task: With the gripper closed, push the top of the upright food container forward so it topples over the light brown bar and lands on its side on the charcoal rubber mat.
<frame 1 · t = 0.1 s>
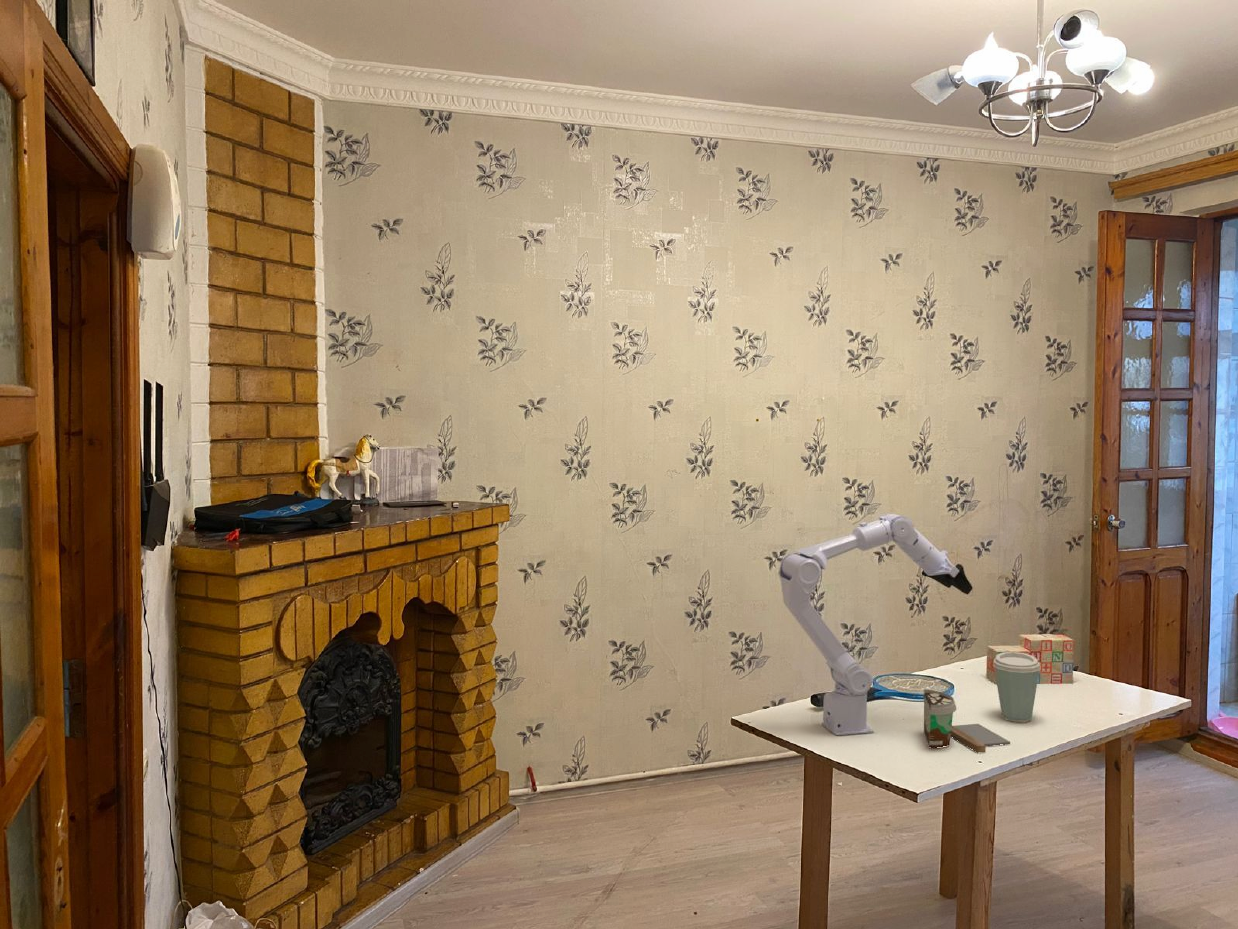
hand: (960, 587, 217), 32 cm above the table, tool tilted 50°, fingers open, 7 cm apart
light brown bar: (960, 739, 206), on the table
disposable coffee cup: (1015, 719, 220), on the table
stack of blocks: (1029, 682, 250), on the table
food container: (940, 742, 205), on the table
rubber mat: (978, 736, 208), on the table
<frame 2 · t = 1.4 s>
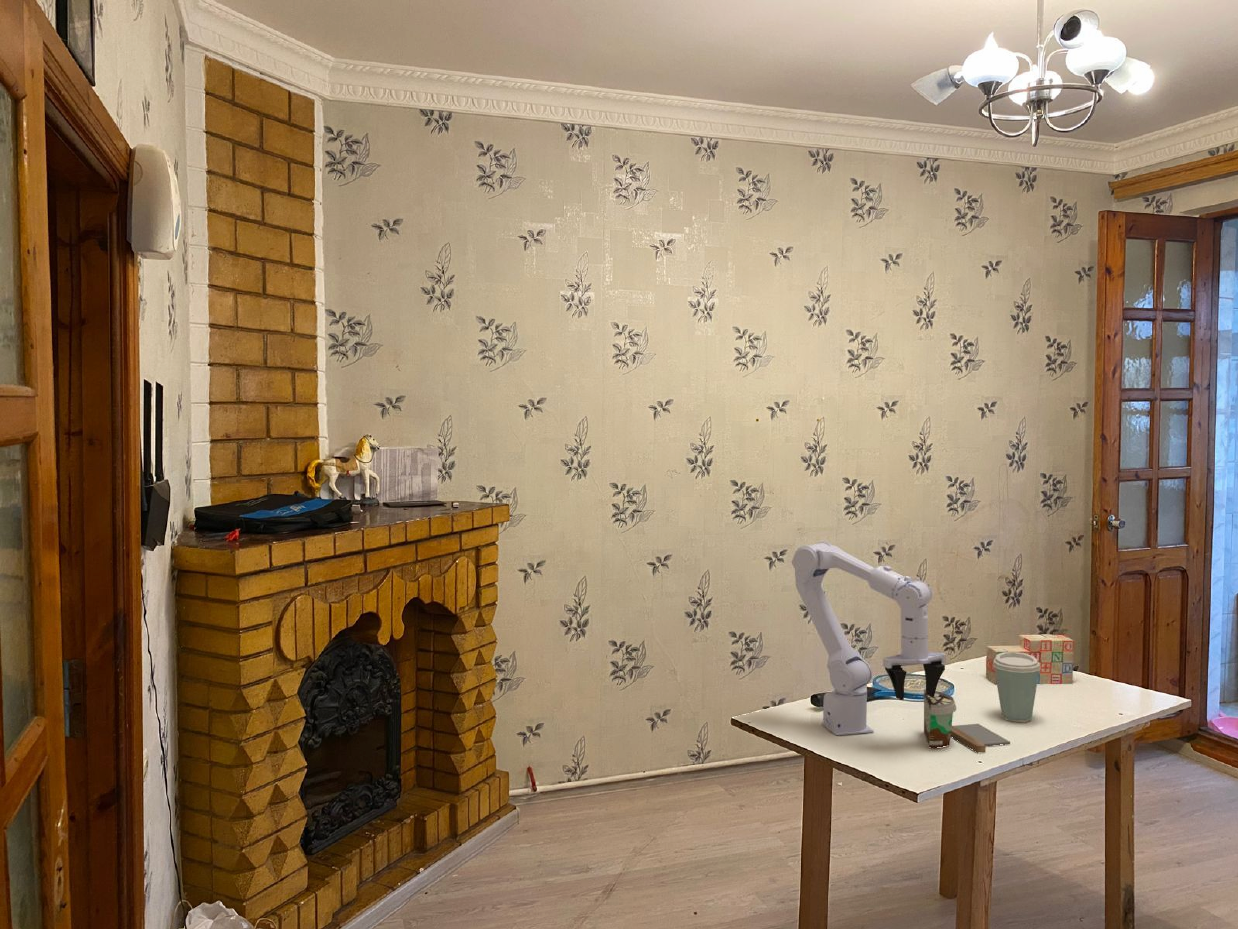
hand: (915, 697, 202), 11 cm above the table, tool pointing down, fingers open, 7 cm apart
nothing on the table moved.
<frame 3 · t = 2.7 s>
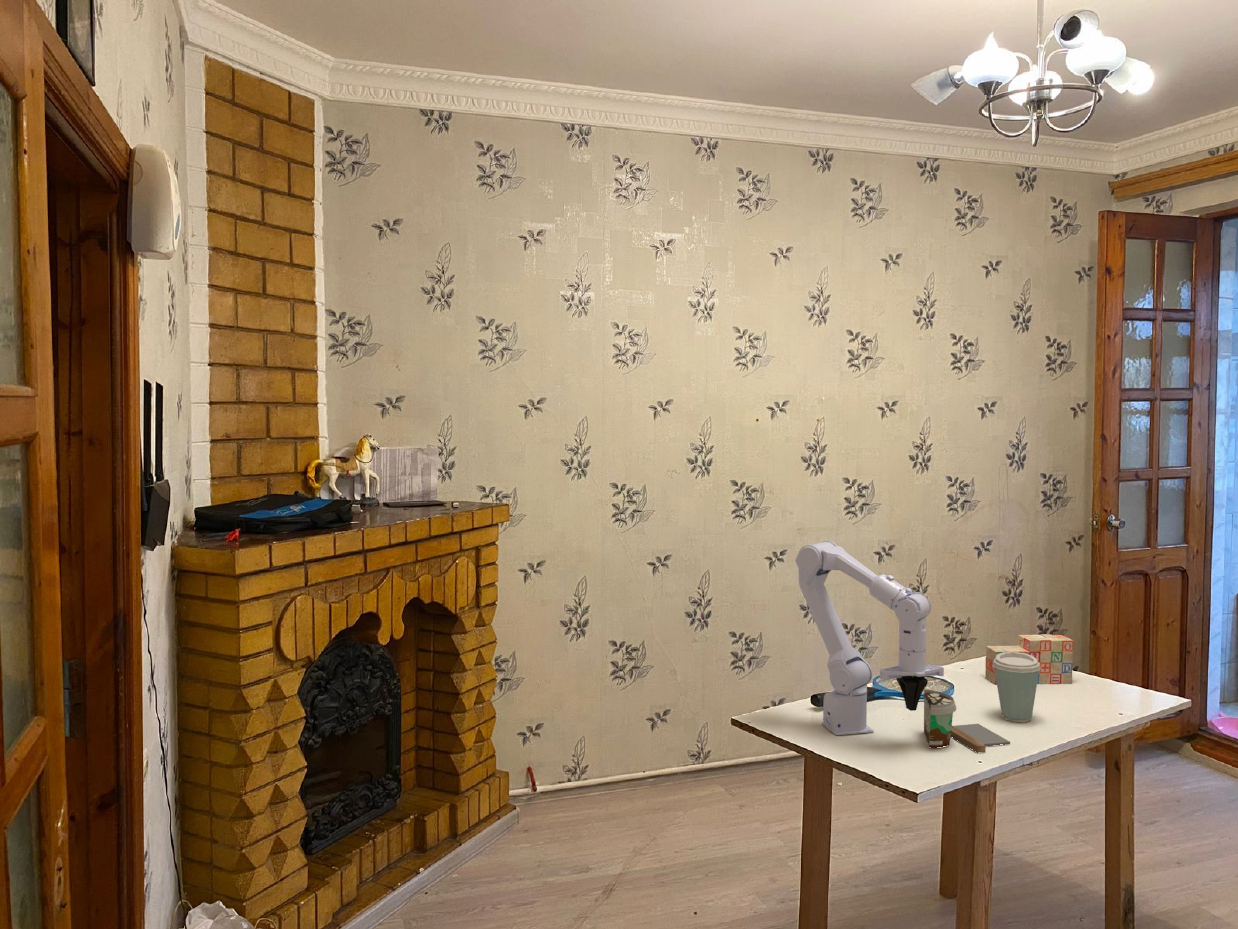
hand: (911, 709, 203), 8 cm above the table, tool pointing down, fingers closed
nothing on the table moved.
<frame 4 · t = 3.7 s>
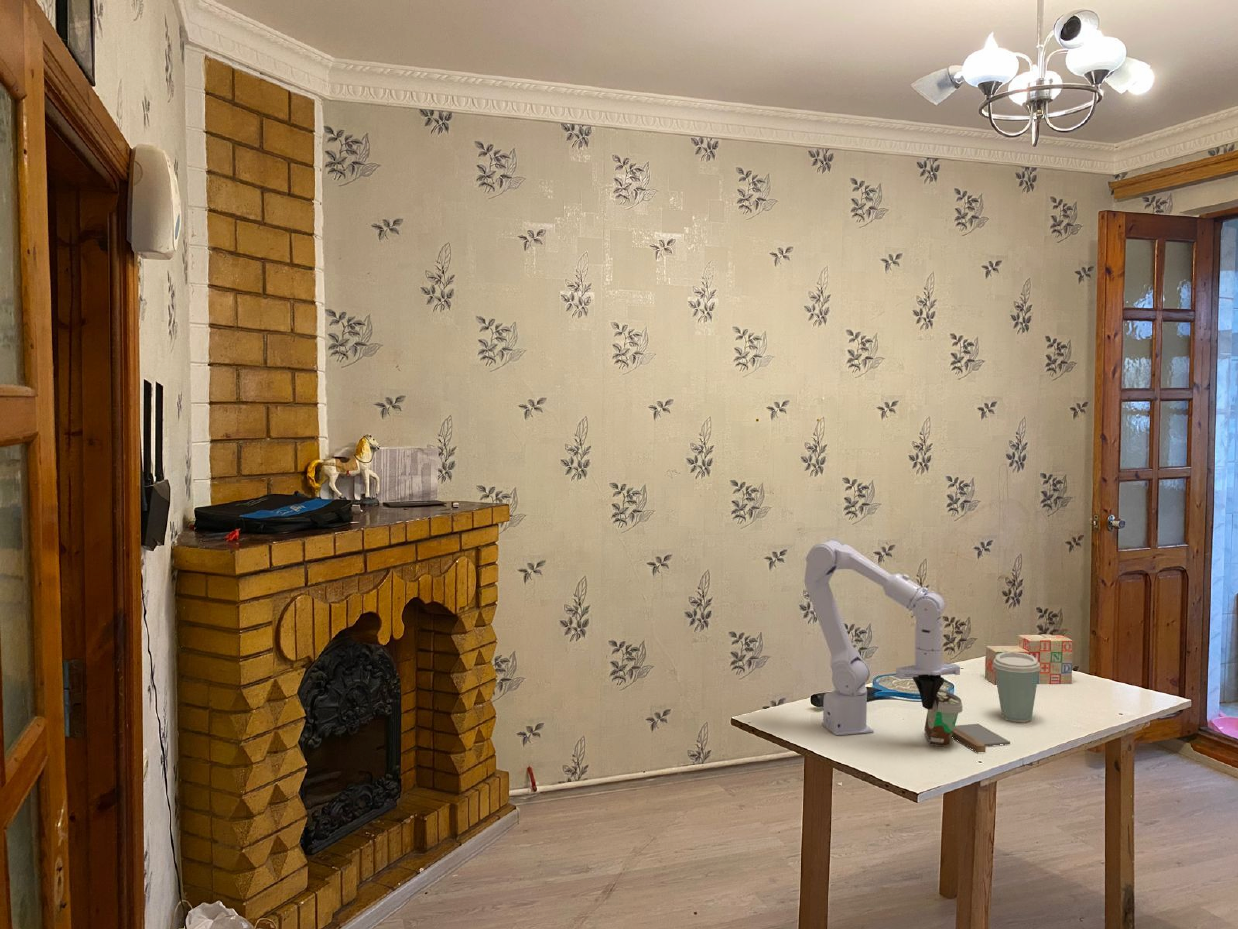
hand: (927, 707, 203), 8 cm above the table, tool pointing down, fingers closed
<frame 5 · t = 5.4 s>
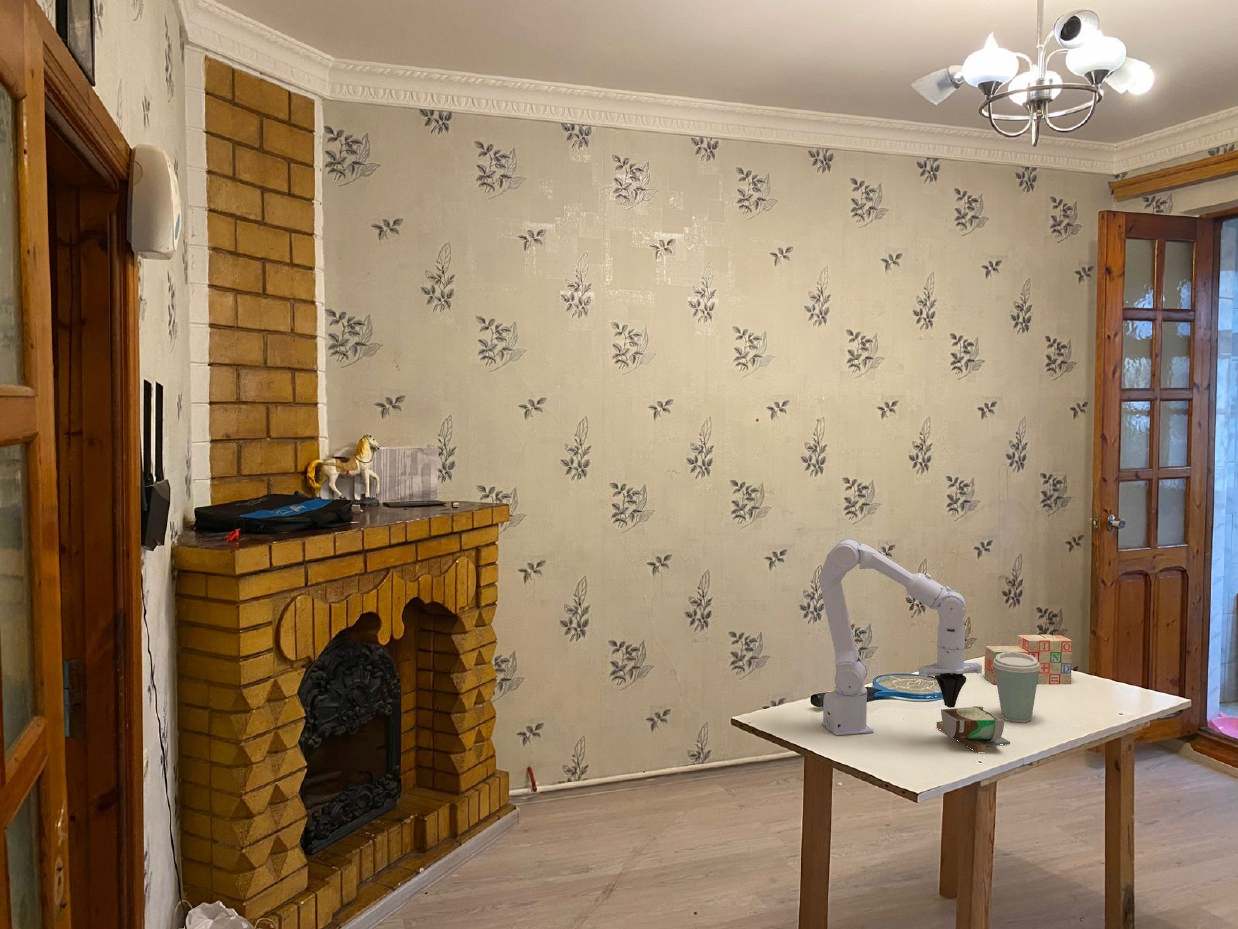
hand: (949, 706, 205), 8 cm above the table, tool pointing down, fingers closed
food container: (948, 728, 203), point 3 cm above the table, touching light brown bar
everything else where it was.
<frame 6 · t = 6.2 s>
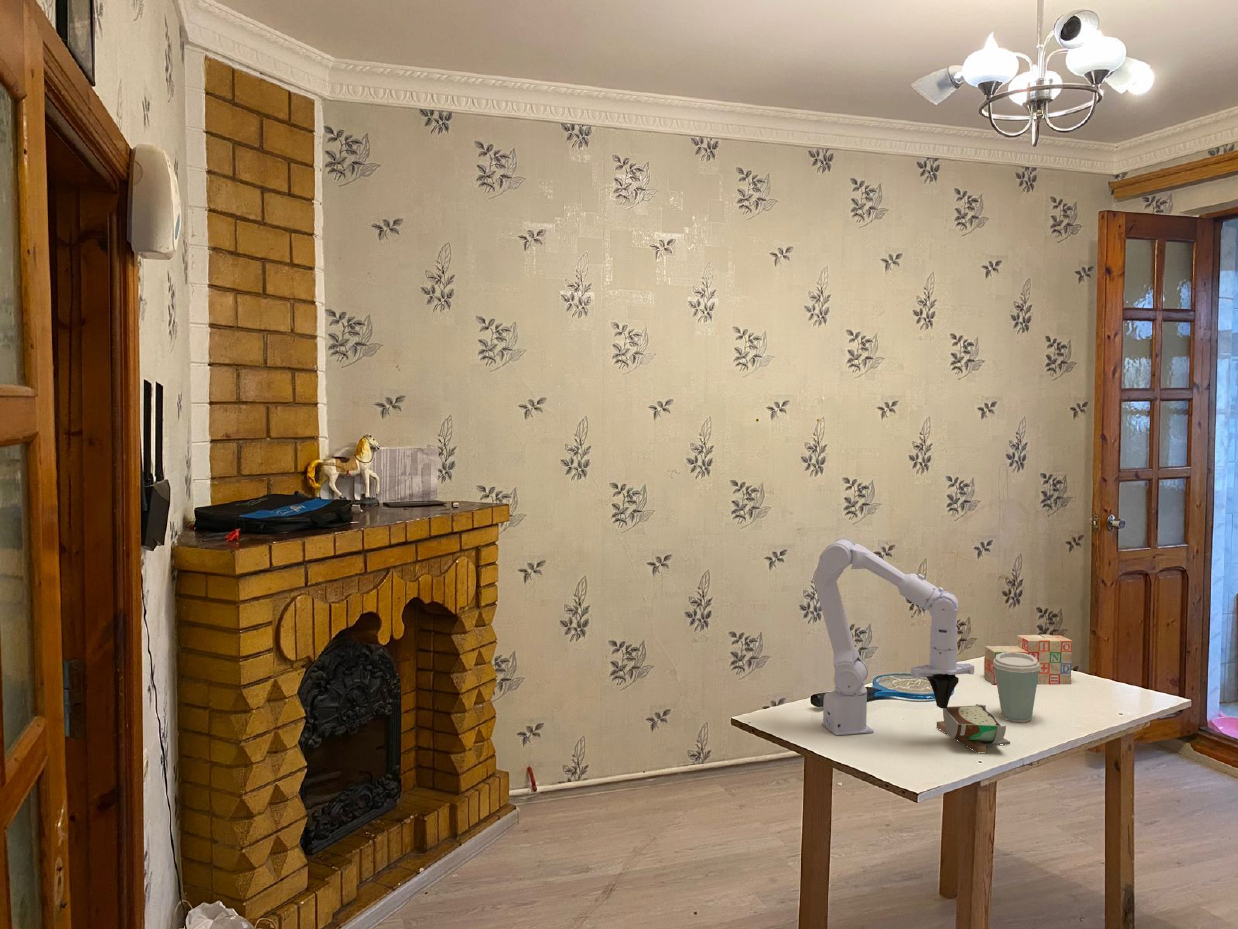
hand: (941, 707, 204), 8 cm above the table, tool pointing down, fingers closed
food container: (948, 728, 203), point 4 cm above the table, touching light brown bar, rubber mat
everything else where it was.
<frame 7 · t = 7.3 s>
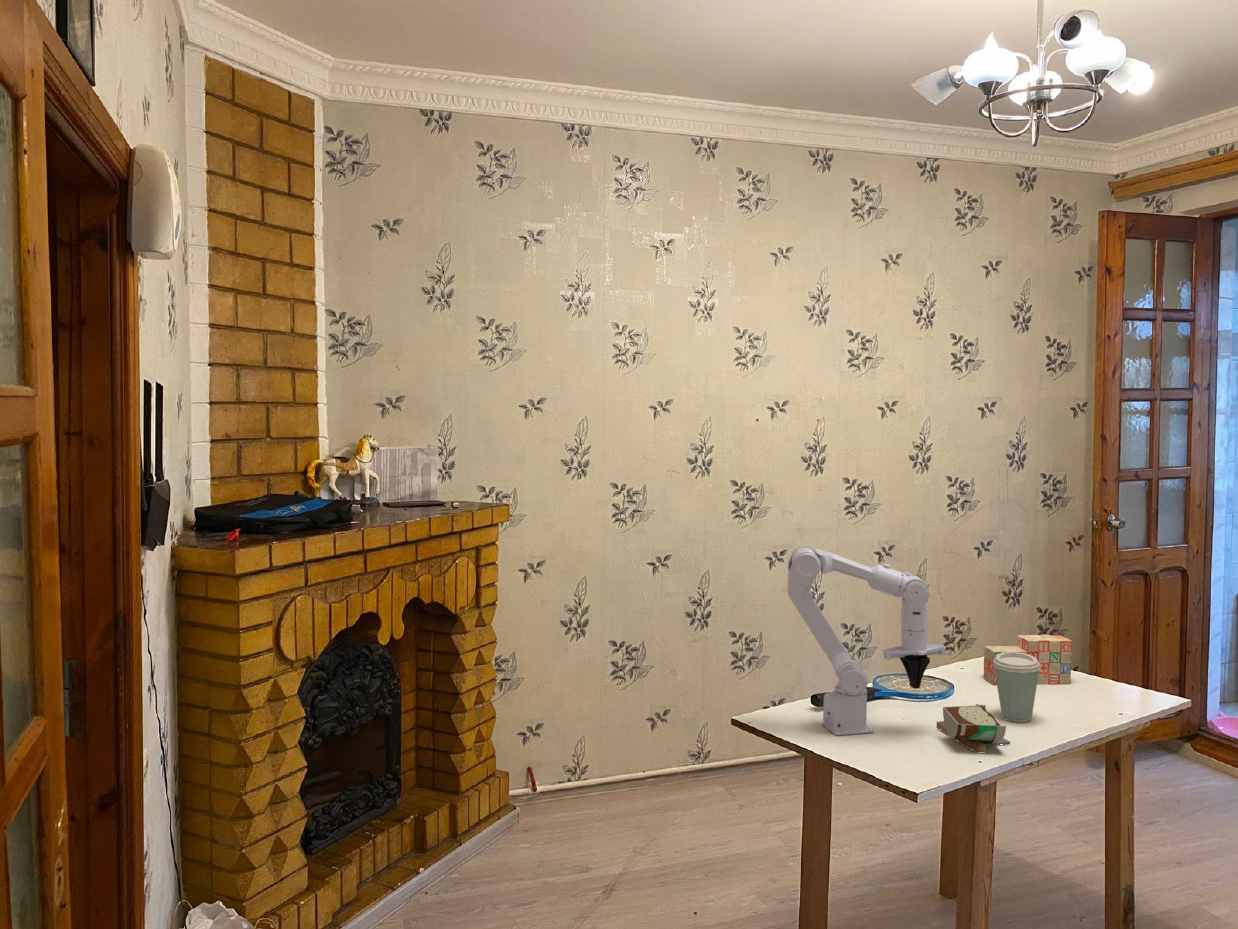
hand: (914, 687, 210), 10 cm above the table, tool pointing down, fingers closed
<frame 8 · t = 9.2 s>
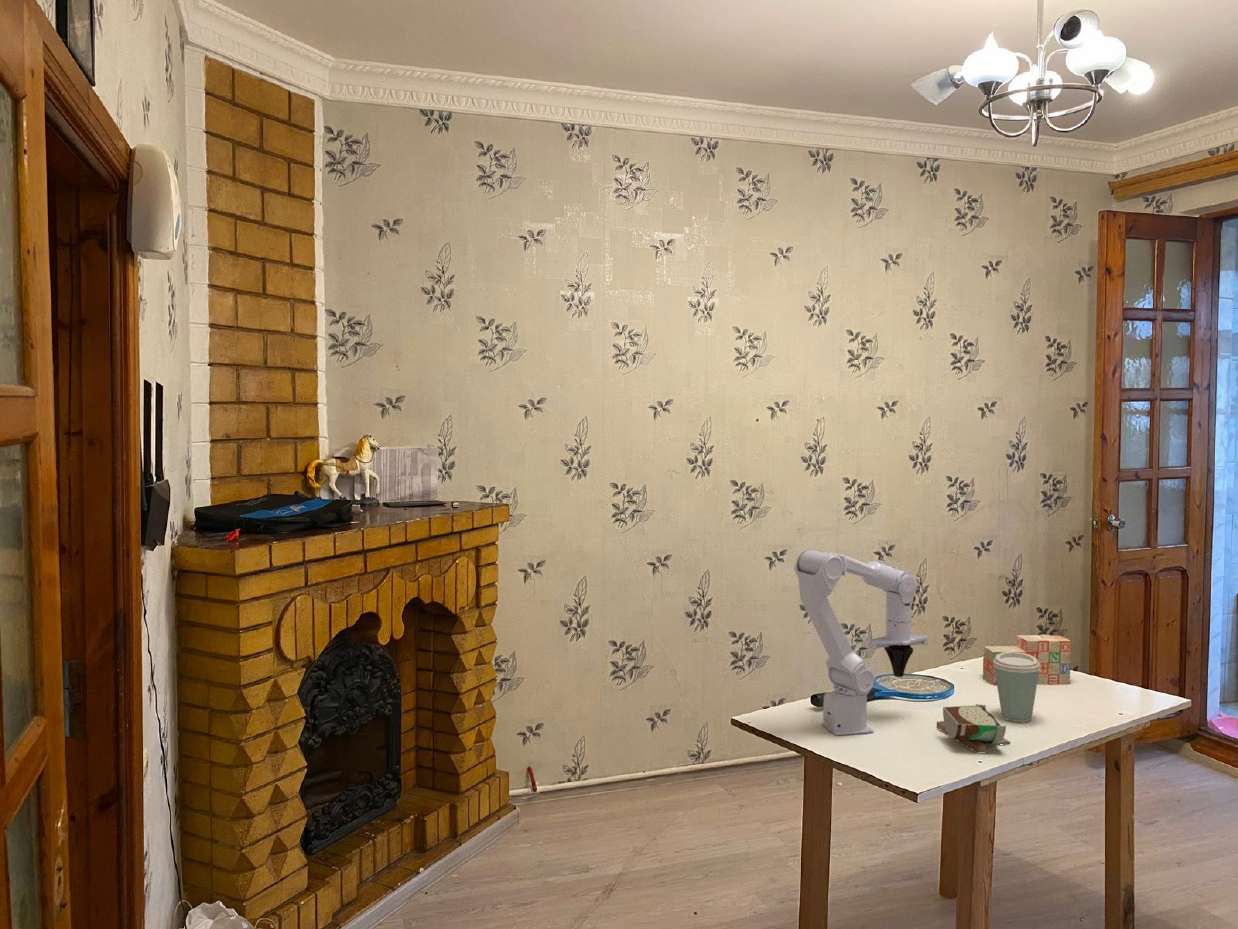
hand: (898, 675, 219), 10 cm above the table, tool pointing down, fingers closed
at the end: food container tilted 90°; food container inside the target area (9.9 cm from its centre), point 3.5 cm above the table; the gripper is holding nothing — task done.
